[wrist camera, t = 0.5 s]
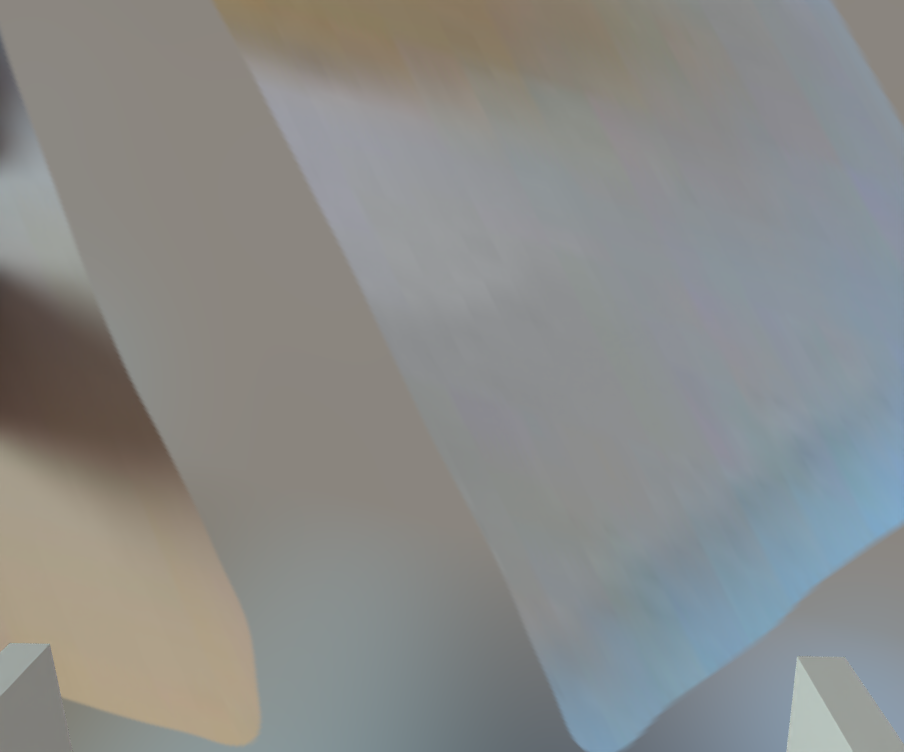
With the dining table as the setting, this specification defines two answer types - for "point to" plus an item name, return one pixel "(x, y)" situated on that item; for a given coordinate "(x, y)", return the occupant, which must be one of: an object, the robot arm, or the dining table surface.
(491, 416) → the dining table surface
